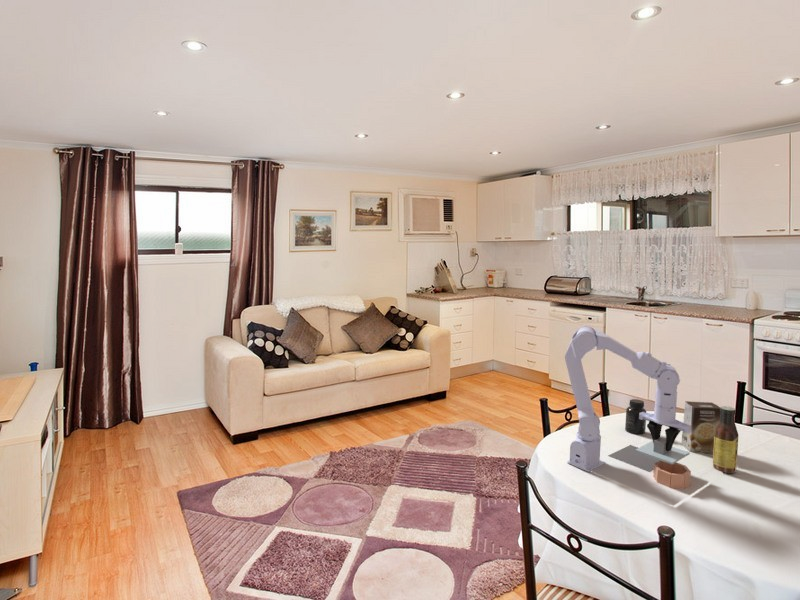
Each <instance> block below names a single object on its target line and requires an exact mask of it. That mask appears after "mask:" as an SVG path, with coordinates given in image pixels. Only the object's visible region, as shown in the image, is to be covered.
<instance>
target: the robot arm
mask: <svg viewBox="0 0 800 600" xmlns="http://www.w3.org/2000/svg"><path fill="white" fill-rule="evenodd" d="M595 348H596V351H601V350H606V351H607V350H608V351H609V352H611V353H613V354H615V355H617V356H619V357H621V358H623V359H626V360H627V361H628V362H630V363H631V367H632V368H633V369H635V370H636V371H638V372H640V373H641V374H644V375H645V376H647V377H649V378H651V379H654V380H657V381H656V387H655V394H654V410H653V411H654V412H653V413H649V412H647V413H645V412H641V413H639V419H641V420H643V419H644V420H646V422H647V421H648V423H646V427H647V429H648V431H649V433H650V436H651V438H652V441H653V443H654V440H656V439H658V438H660V437H661V432H662V428H663V426H665V427H666V429H665V430H664V431H665V437H666V451H670V450H671V449H672V447H674V443H675V440H676V439H677V437H678V435H679V434H680V433H681V432H683V431H684V432H685V433H690V432H691V426H690V425H687V424H685V423H683V422H682V421H680V420H678V419H676V414H677V400H678V390H677V389H678V385H679V384H680V382H681V379H680V376H679V374H678V372H677V369H676V368H675V367H674V366H673V365H671V364H670V363H667V361H664V360H663V361H661V360H660V359H657V358H655V357H654V356H652V353H651V352H649V351H646V352H645V351H637V352H636V351H634V350H633V349H632V348H630V347H627V345H624V344H623V343H621V342H619V341H618V340H616V339H614V338H613V337H611V336H610V335H608V334H606V333H604V332H602V331H601V330H598V329H594V327H591V326H588V325H583V326H581V327H579V328H577V330H576V331H575V332H574V333H573V334H572V337H571V339H570V342H569V344H568V347H567V349H566V352H565V353H564V360H565V365H566V369H567V373H568V376H569V380H570V386H571V389H572V393H573V397H574V401H575V405H576V409H577V417H578V423H579V425H578V430H577V433H576V437H575V439H574V440H573V441H572V442H571V443H570V445H569V460H567V461H566V463H567V464H569V465H571V466H574V467H577V468H578V469H581V470H583V471H585V472H589V473H590V472H591V471H592V470H595V469H596V468H598V467H600V466H602V465H604V464H606V462H605V461H603V460H602V459H601V443H602V436H601V429H600V425H601V421H600V417H599V416H598V415H597V414H596V412H595V408H594V407H593V404H592V403H593V402H592V399H591V395H590V391H589V387H588V383H587V379H586V375H585V371H584V366H583V363H582V359H583V358H584V357H585V355H586V354H588V353H589V352H591V351H593V349H595Z"/></svg>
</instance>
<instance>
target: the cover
mask: <svg viewBox="0 0 800 600" xmlns="http://www.w3.org/2000/svg"><path fill="white" fill-rule="evenodd" d="M635 452H638V453H641V454H644V455H647V456H650V457H652V458H655V459H658V460H661V461H664V462H666V463H669V464H674V463H676V462H677V463H678V462H679V461H681V460H682V459H684V458H685V457H688V456H689V455H690V453H691V452H689V451H688V450H687V451H686V450H683V449H682V448H677V447H674V446H672V449H671V450H670V451H666V436H660V438H658V439H656V440H654V443H653V440H651V441H649V442H648V443H646V444H643V445H642V446H640V447H638V449H636V450H635Z"/></svg>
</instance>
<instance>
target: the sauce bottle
mask: <svg viewBox="0 0 800 600" xmlns="http://www.w3.org/2000/svg"><path fill="white" fill-rule="evenodd" d="M719 407H720V413H721V414H720V422H719V423H718V424H717V426H716V428H715V436H714V450H713V454H712V467H713V469H714V470H716V471H718V472H722V473H723V474H734V473H736V469H737V464H738V448H739V433H738V429H737V426H736V422H735V419H736V417H735V415H736V412H737V411H736V408H734V407H731V406H727V405H726V406H723V405H722V406H719Z"/></svg>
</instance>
